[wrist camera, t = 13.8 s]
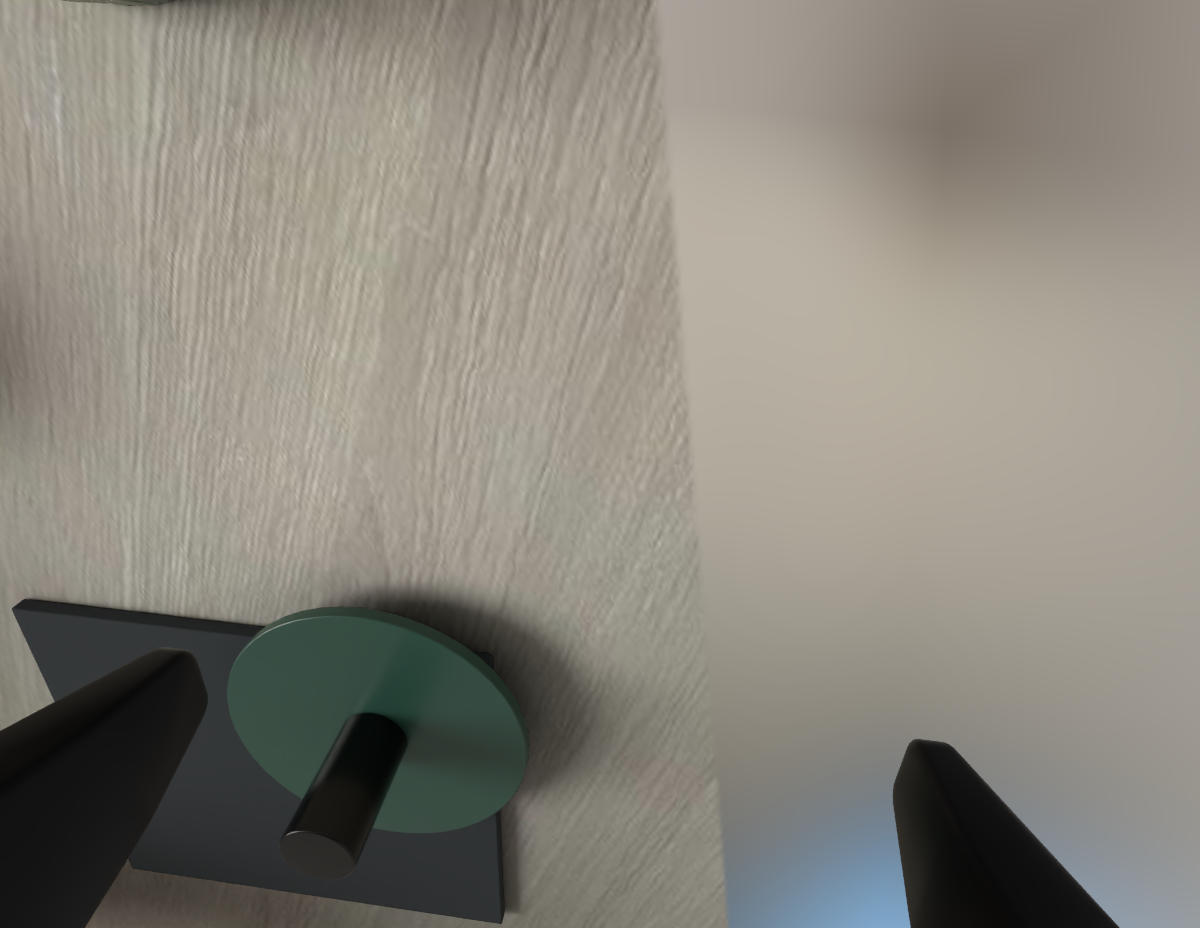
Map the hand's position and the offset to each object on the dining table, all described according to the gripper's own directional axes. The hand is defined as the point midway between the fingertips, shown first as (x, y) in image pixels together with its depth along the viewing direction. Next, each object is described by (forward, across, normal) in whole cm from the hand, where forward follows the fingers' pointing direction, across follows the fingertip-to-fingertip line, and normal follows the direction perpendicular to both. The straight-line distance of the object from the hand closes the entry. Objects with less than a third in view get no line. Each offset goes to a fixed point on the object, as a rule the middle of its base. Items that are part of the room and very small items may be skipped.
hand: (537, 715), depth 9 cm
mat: (+12, +13, +19) cm, 26 cm away
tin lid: (+11, +8, +14) cm, 19 cm away
